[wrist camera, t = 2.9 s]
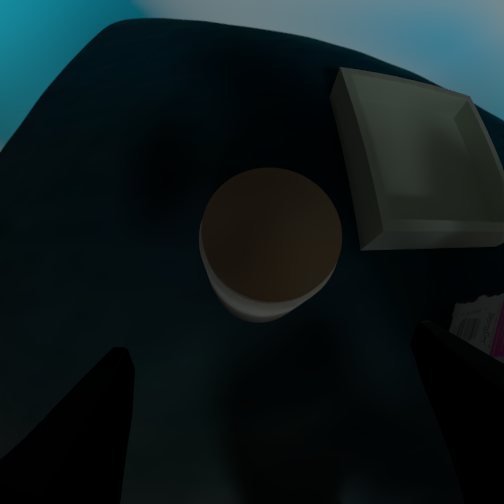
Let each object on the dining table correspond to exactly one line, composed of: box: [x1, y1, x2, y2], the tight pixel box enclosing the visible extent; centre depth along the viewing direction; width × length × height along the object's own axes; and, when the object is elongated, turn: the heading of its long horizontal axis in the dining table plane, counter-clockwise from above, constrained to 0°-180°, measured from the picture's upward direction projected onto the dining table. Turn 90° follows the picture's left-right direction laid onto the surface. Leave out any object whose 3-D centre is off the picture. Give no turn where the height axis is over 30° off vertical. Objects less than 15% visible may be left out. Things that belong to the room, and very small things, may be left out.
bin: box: [329, 67, 504, 250], centre depth 23 cm, size 15×15×4 cm
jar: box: [199, 167, 342, 323], centre depth 17 cm, size 6×6×8 cm
